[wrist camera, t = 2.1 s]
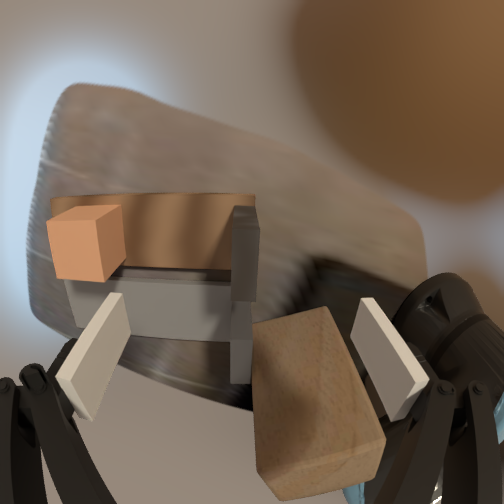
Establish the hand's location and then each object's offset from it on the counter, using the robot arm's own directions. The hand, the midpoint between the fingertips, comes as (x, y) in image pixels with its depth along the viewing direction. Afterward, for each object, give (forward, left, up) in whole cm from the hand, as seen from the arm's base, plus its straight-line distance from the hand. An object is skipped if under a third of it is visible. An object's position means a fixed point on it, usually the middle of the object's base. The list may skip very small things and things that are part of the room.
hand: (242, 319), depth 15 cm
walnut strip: (+11, 0, -16) cm, 19 cm away
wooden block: (-7, +15, -16) cm, 24 cm away
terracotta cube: (+16, 0, -15) cm, 22 cm away
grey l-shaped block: (+11, +10, -16) cm, 22 cm away
